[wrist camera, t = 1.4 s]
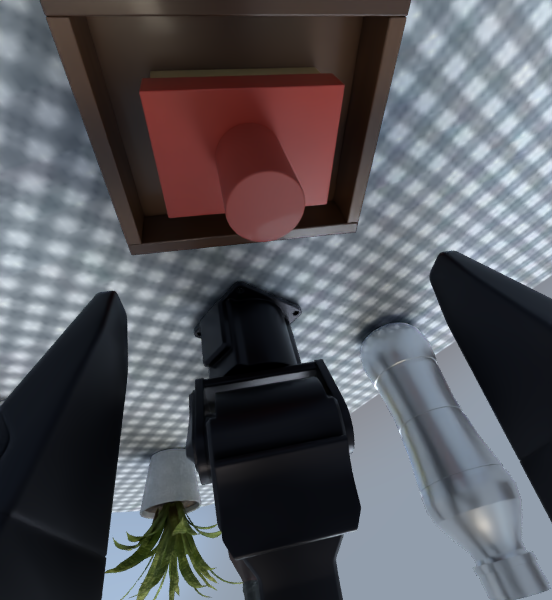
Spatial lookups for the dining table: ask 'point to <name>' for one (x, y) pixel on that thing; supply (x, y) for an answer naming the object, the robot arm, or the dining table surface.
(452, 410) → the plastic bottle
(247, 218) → the brush
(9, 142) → the dining table surface
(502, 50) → the dining table surface
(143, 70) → the brown wooden tray
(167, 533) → the house plant
